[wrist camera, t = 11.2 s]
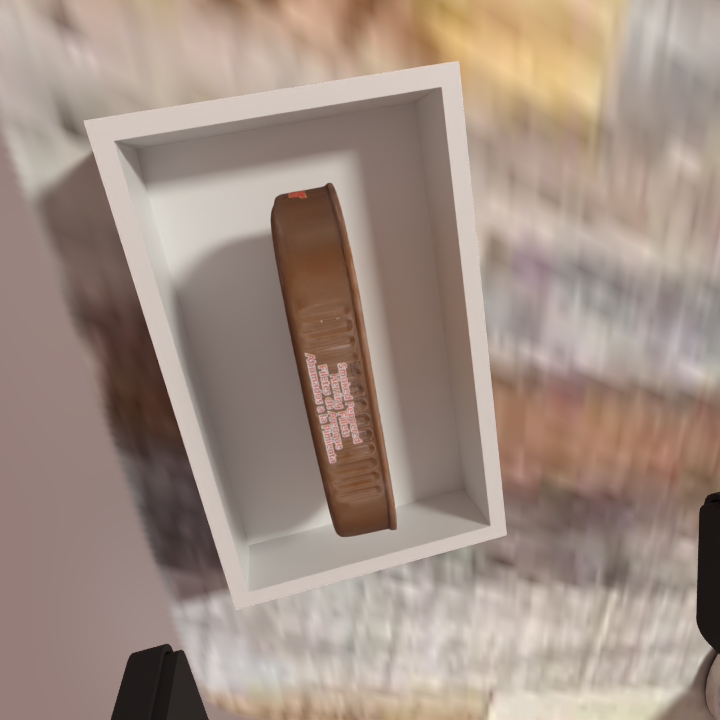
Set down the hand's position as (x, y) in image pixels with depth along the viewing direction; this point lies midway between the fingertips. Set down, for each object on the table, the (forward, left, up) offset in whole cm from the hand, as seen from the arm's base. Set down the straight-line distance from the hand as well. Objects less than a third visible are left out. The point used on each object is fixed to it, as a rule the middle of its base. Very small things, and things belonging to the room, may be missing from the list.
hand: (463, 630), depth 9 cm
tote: (0, 0, -20) cm, 20 cm away
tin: (0, 0, -19) cm, 19 cm away
